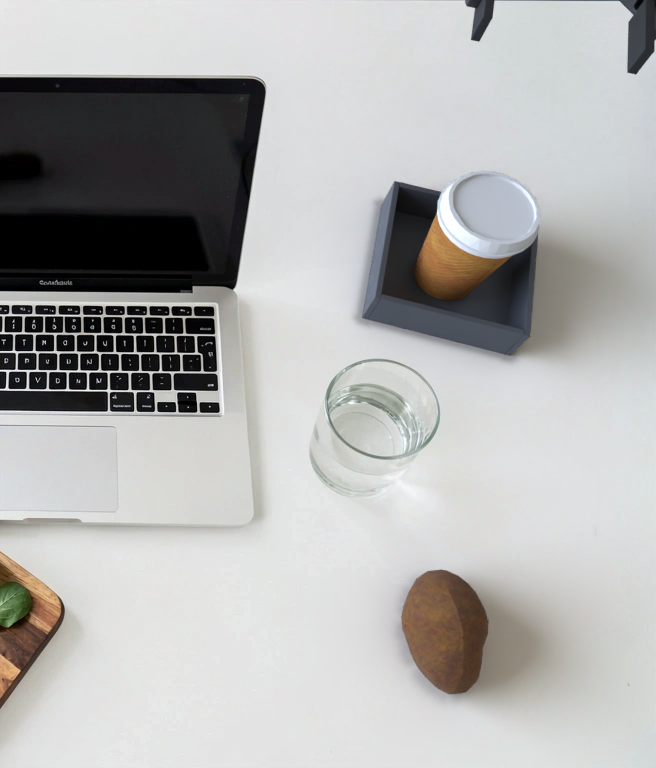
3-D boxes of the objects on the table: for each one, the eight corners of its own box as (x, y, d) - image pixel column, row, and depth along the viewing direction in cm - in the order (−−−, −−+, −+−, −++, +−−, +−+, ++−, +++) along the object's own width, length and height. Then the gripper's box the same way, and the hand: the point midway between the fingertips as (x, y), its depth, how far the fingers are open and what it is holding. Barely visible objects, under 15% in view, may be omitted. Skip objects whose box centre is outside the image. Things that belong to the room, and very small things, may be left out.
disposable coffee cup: (399, 231, 98) (443, 159, 88) (488, 247, 98) (544, 175, 87) (396, 305, 94) (442, 238, 83) (489, 321, 93) (547, 256, 83)
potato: (402, 698, 78) (434, 687, 71) (379, 578, 82) (407, 558, 76) (483, 695, 78) (522, 684, 72) (455, 575, 82) (489, 555, 76)
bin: (519, 240, 99) (540, 214, 95) (508, 358, 92) (530, 336, 88) (380, 206, 100) (394, 180, 96) (360, 320, 94) (374, 297, 90)
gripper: (679, -48, 90) (681, 107, 81) (427, -96, 93) (402, 48, 84) (731, -119, 83) (739, 42, 74) (457, -168, 87) (433, -20, 78)
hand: (560, 45), depth 79 cm, fingers open, 13 cm apart
